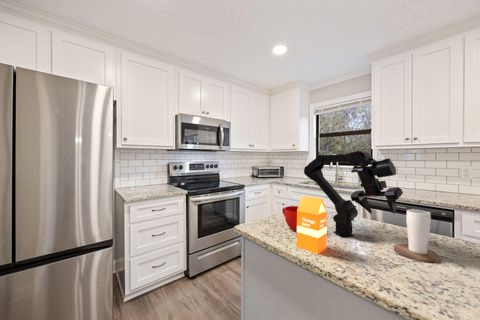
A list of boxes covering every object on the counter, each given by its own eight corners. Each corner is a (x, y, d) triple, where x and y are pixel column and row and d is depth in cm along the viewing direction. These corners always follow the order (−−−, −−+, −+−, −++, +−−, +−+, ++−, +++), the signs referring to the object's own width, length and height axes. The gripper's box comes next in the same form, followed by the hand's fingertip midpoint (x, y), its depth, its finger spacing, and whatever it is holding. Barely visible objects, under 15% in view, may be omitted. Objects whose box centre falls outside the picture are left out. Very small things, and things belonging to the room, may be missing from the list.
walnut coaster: (420, 264, 69) (420, 261, 69) (385, 247, 81) (385, 245, 81) (450, 260, 71) (450, 257, 71) (411, 244, 84) (411, 242, 84)
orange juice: (305, 241, 87) (306, 194, 87) (326, 247, 81) (327, 197, 81) (296, 246, 82) (296, 196, 82) (317, 254, 76) (318, 200, 75)
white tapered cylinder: (435, 256, 72) (436, 214, 72) (413, 255, 73) (414, 213, 73) (421, 248, 79) (421, 209, 78) (401, 247, 80) (402, 208, 79)
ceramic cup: (291, 221, 114) (291, 203, 114) (316, 230, 100) (317, 210, 100) (273, 225, 108) (273, 206, 108) (298, 235, 93) (298, 214, 93)
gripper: (400, 168, 84) (415, 204, 84) (355, 175, 100) (368, 205, 99) (389, 179, 78) (405, 217, 78) (344, 184, 94) (357, 216, 94)
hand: (382, 213), depth 87 cm, fingers open, 9 cm apart
